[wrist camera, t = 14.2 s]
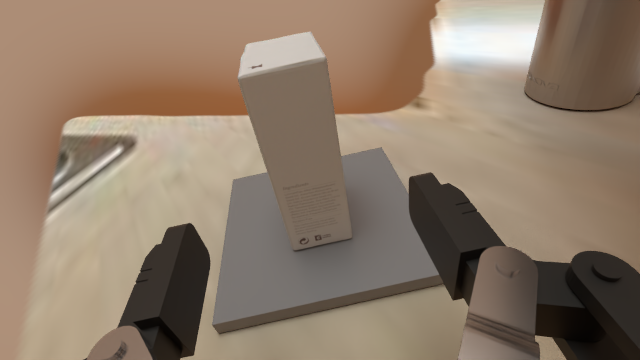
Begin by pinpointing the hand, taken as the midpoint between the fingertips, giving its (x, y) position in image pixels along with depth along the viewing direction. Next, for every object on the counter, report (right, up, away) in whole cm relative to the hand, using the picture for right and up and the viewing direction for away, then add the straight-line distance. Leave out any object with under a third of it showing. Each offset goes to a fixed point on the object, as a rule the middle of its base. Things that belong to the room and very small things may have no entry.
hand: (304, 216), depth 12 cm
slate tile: (+1, -2, +12) cm, 13 cm away
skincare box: (0, -1, +12) cm, 12 cm away
